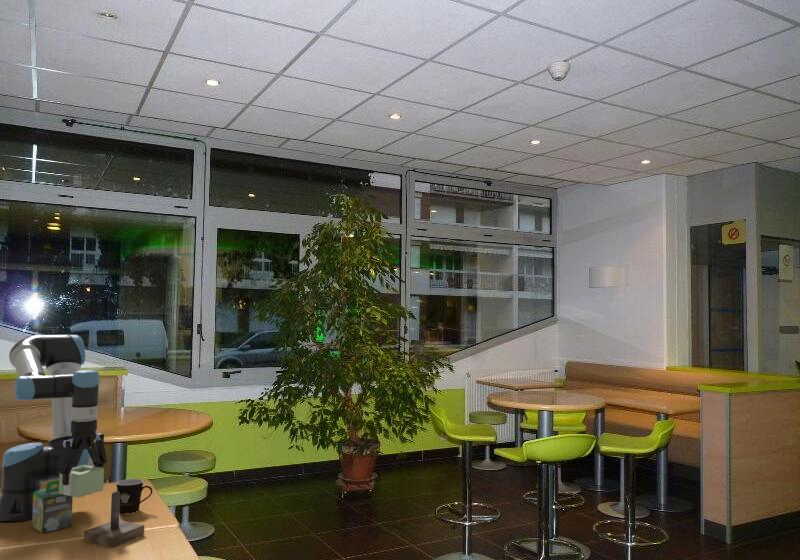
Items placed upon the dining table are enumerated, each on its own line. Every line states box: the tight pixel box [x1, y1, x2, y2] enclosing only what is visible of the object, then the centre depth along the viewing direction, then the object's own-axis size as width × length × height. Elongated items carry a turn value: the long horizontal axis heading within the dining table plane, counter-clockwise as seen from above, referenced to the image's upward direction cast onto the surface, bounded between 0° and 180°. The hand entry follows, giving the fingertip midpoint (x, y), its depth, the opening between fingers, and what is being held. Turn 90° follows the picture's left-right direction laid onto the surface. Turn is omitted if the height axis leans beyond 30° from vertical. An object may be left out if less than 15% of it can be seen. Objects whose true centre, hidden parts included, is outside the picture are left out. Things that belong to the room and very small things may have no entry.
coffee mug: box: [116, 478, 153, 515], centre depth 221 cm, size 12×9×10 cm
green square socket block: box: [58, 464, 105, 499], centre depth 201 cm, size 9×9×7 cm
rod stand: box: [83, 490, 145, 548], centre depth 195 cm, size 12×12×14 cm
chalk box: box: [31, 479, 74, 534], centre depth 205 cm, size 9×9×15 cm
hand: (81, 491), depth 201 cm, fingers closed on green square socket block, 9 cm apart
